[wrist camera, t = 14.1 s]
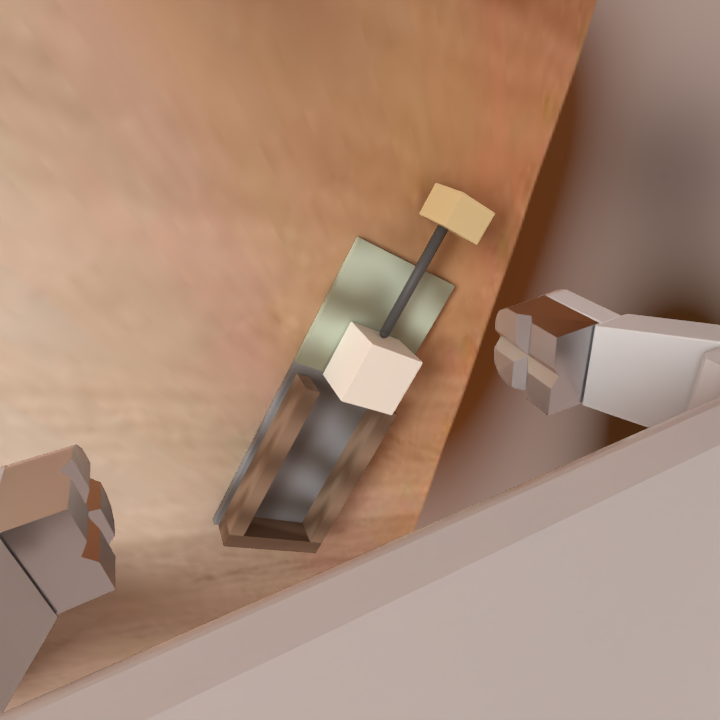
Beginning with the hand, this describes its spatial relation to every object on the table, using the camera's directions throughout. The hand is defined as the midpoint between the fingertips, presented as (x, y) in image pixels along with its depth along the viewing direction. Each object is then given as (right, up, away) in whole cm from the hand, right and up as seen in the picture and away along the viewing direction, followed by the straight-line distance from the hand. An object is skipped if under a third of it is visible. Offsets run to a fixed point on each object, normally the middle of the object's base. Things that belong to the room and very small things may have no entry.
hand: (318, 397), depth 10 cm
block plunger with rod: (+4, +7, +39) cm, 40 cm away
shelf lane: (-2, -3, +43) cm, 43 cm away
